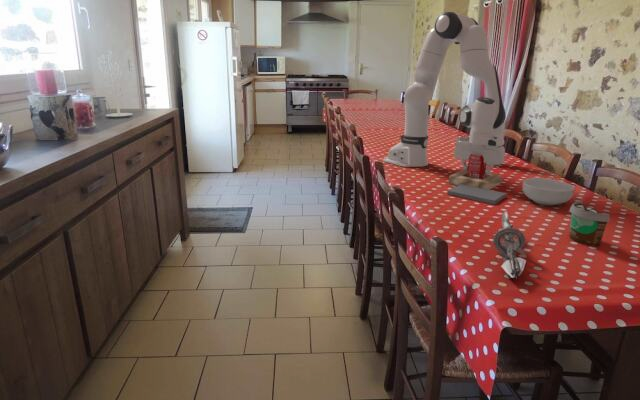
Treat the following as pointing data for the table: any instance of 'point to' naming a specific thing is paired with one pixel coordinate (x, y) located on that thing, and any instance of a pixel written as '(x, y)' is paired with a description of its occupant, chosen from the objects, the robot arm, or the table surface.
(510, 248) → the spaceship
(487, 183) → the wooden holder
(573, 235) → the food container
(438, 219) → the table surface
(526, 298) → the table surface
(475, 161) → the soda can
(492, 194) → the charcoal board
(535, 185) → the cereal bowl
